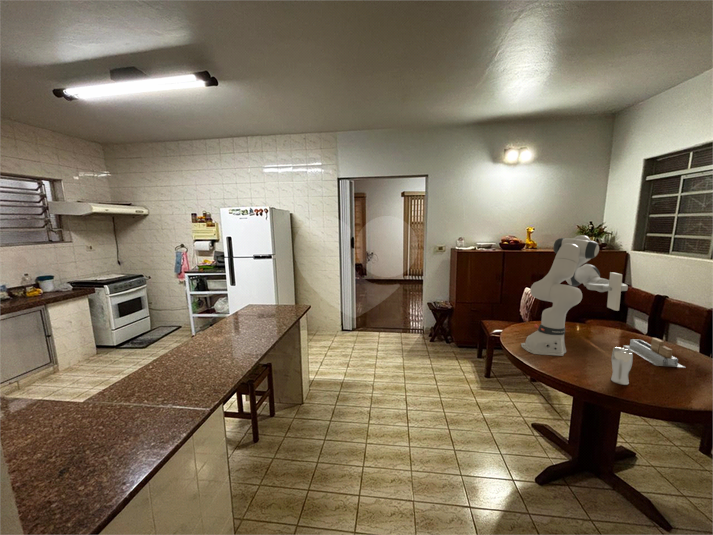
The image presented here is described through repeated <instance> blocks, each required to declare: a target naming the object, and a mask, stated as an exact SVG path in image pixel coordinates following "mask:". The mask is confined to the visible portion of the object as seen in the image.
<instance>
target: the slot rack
mask: <svg viewBox="0 0 713 535" xmlns="http://www.w3.org/2000/svg"><path fill="white" fill-rule="evenodd" d="M622 346H623V348H625V349H628V350H631V351H632V352H633V353H634V354H636V355H638V356H639V357H641V358H642V359H644V360H646V361H648V362H649V363H651V364H652V365H654V366H656V367H659V366H660V367H670V368H671V367H673V368H683V369H684V368H685V369H686V366H685V365H682V364H680V363H679V358H677V357H675V356H673V355H672V358H666V357H664V356H663V355H661V354H659V353H657V352H655V351H653V350H652V349H651V343H648V342H647V341H644V340H643V339H634V338H632V339H631V338H630V339H629V345H622Z"/></svg>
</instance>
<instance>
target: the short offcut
mask: <svg viewBox="0 0 713 535" xmlns="http://www.w3.org/2000/svg"><path fill="white" fill-rule="evenodd" d="M659 354H661V355H663V356H664V357H666V358H672V356H673V349H672V348H670V347H667V346H666V345H664V346H660V347H659Z"/></svg>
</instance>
